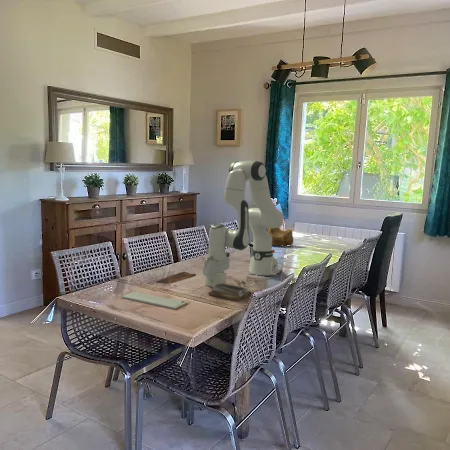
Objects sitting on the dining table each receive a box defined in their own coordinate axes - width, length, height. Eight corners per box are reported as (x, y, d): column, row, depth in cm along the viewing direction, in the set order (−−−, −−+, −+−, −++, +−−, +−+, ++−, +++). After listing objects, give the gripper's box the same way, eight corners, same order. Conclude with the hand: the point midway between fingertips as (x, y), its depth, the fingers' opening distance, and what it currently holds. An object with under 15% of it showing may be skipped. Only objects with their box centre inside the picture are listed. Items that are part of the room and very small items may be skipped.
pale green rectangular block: (208, 284, 239) (209, 269, 238) (226, 287, 233) (226, 273, 232) (205, 285, 237) (205, 270, 236) (222, 289, 231) (223, 274, 230)
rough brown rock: (259, 245, 360) (259, 227, 357) (270, 241, 372) (271, 224, 369) (283, 251, 345) (283, 232, 342) (294, 246, 358) (295, 228, 354)
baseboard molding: (138, 293, 221) (121, 299, 211) (138, 287, 221) (121, 293, 211) (190, 303, 207) (175, 311, 197) (190, 297, 207) (175, 304, 196)
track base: (224, 288, 231) (224, 281, 230) (250, 294, 222) (251, 286, 222) (208, 295, 219) (209, 287, 219) (236, 301, 211) (236, 293, 210)
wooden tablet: (167, 283, 236) (153, 277, 241) (167, 286, 236) (153, 281, 241) (197, 273, 258) (184, 269, 263) (197, 277, 258) (183, 272, 263)
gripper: (210, 259, 222) (209, 286, 224) (231, 253, 239) (231, 277, 241) (200, 257, 226) (199, 283, 228) (222, 251, 243) (221, 276, 245)
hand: (215, 280), depth 235 cm, fingers open, 8 cm apart
